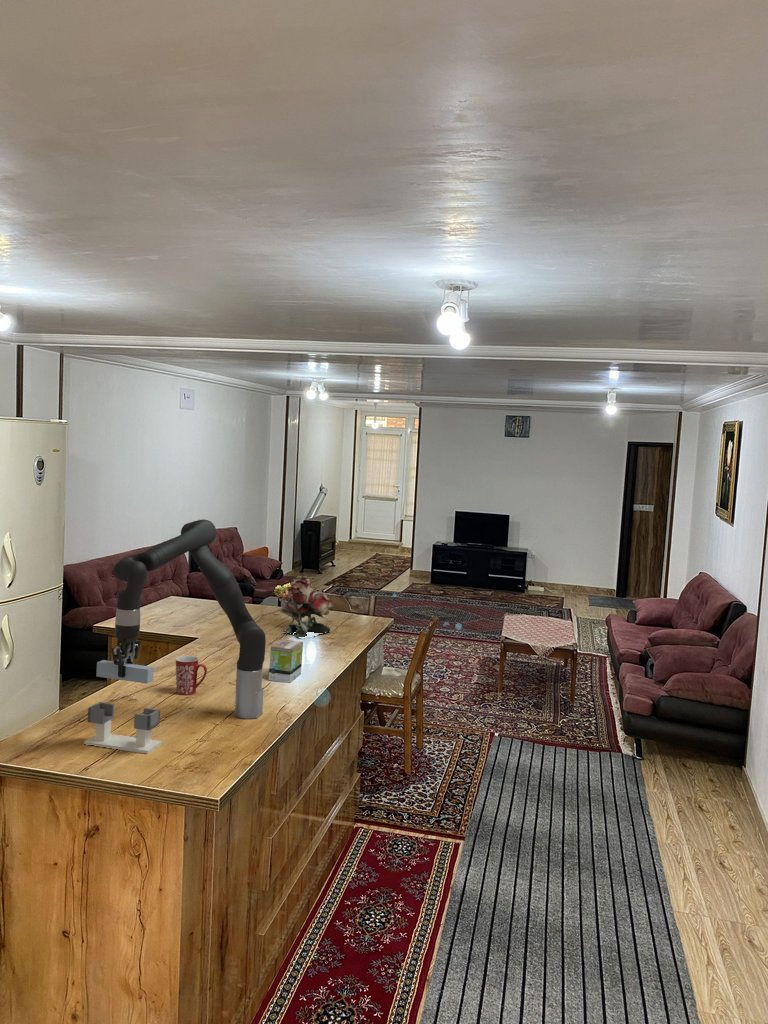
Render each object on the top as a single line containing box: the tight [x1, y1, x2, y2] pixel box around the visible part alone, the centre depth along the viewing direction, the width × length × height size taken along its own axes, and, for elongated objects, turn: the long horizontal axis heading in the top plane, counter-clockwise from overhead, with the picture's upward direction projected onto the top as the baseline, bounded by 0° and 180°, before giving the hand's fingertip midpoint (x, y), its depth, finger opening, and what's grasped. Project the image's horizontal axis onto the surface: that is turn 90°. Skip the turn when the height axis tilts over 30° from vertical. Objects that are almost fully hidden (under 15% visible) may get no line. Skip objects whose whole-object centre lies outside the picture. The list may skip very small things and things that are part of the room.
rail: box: [95, 659, 155, 685], centre depth 255 cm, size 18×4×4 cm, turn 77°
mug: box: [174, 655, 208, 696], centre depth 311 cm, size 13×9×14 cm
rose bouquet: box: [279, 575, 334, 638], centre depth 426 cm, size 26×29×30 cm
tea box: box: [268, 639, 304, 683], centre depth 339 cm, size 15×10×15 cm, turn 168°
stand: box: [83, 701, 162, 755], centre depth 254 cm, size 22×9×12 cm, turn 78°
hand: (124, 675), depth 255 cm, fingers closed on rail, 3 cm apart
